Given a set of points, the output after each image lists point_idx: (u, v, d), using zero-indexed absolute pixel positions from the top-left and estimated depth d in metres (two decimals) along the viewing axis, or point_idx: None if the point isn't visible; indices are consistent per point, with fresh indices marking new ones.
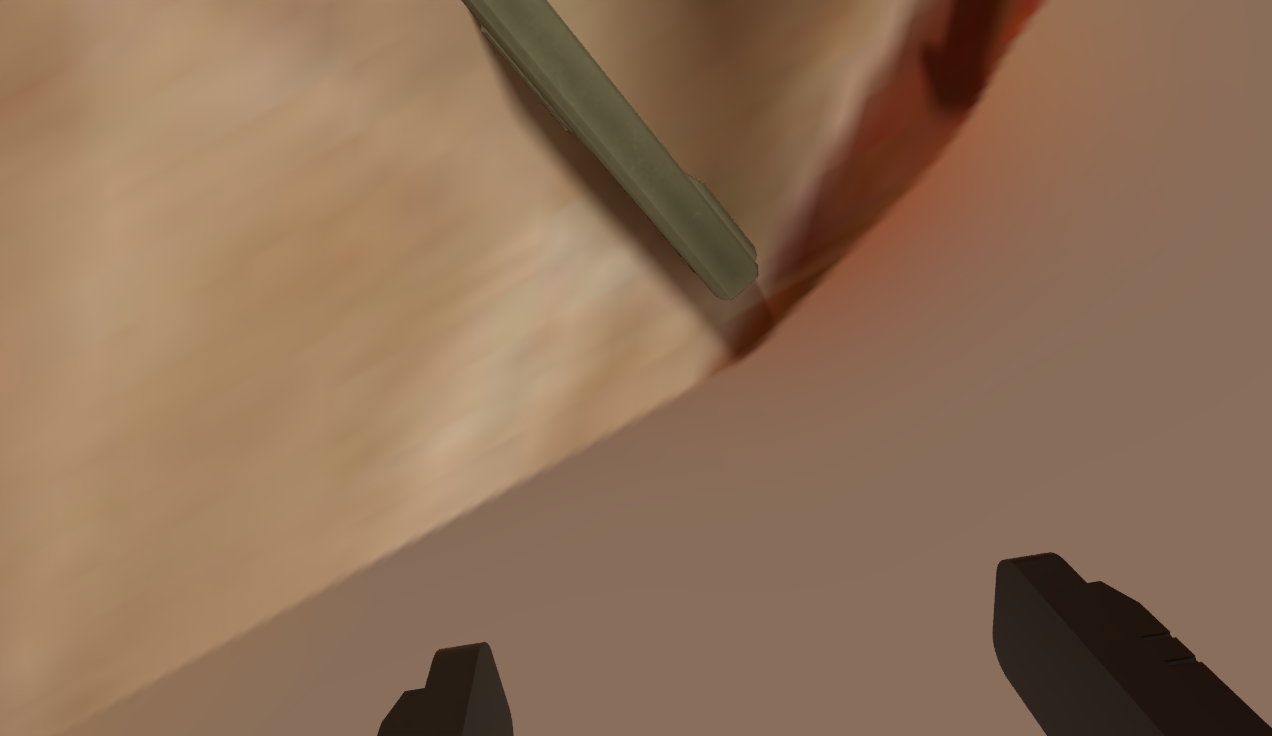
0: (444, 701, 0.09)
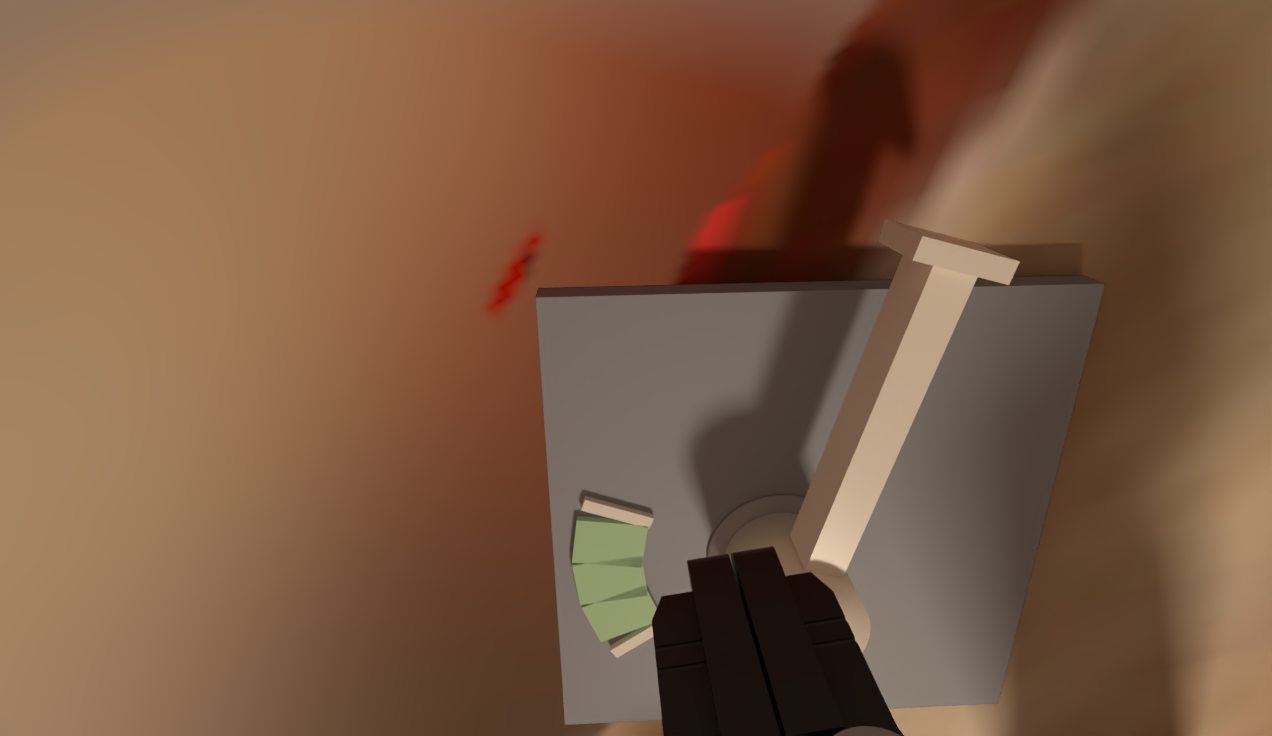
0: (717, 597, 0.10)
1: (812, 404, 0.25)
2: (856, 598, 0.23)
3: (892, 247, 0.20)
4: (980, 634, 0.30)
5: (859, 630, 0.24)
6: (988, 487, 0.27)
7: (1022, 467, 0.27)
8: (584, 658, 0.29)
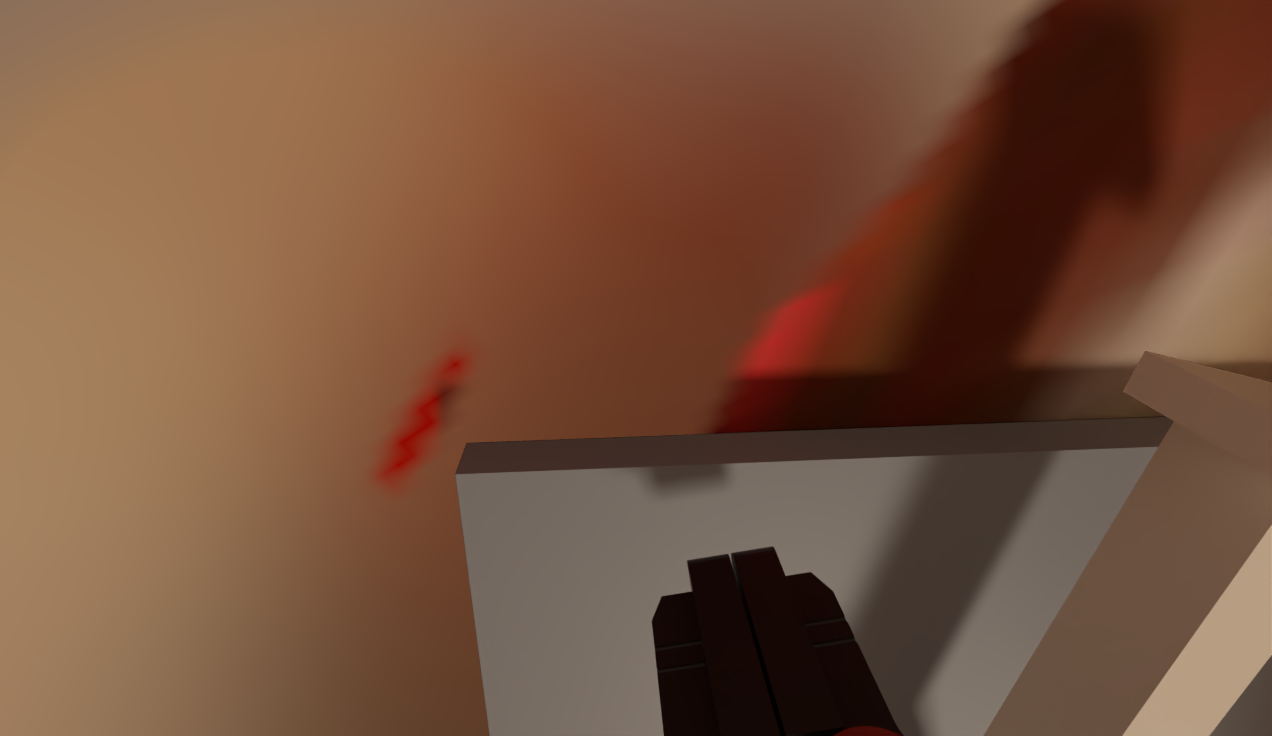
0: (717, 597, 0.10)
1: (943, 630, 0.15)
2: None
3: (1181, 421, 0.10)
4: None
5: None
6: None
7: None
8: None
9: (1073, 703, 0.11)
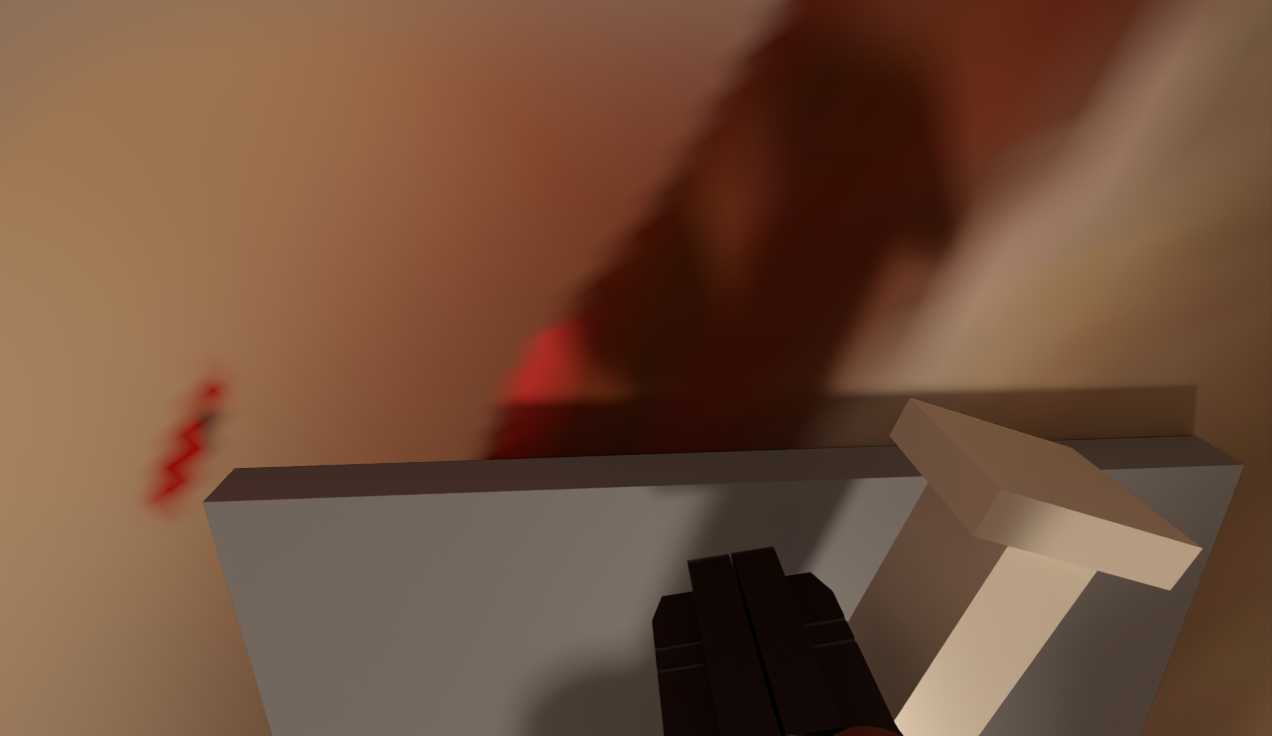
0: (717, 597, 0.10)
1: None
2: None
3: (922, 470, 0.10)
4: None
5: None
6: None
7: None
8: None
9: None
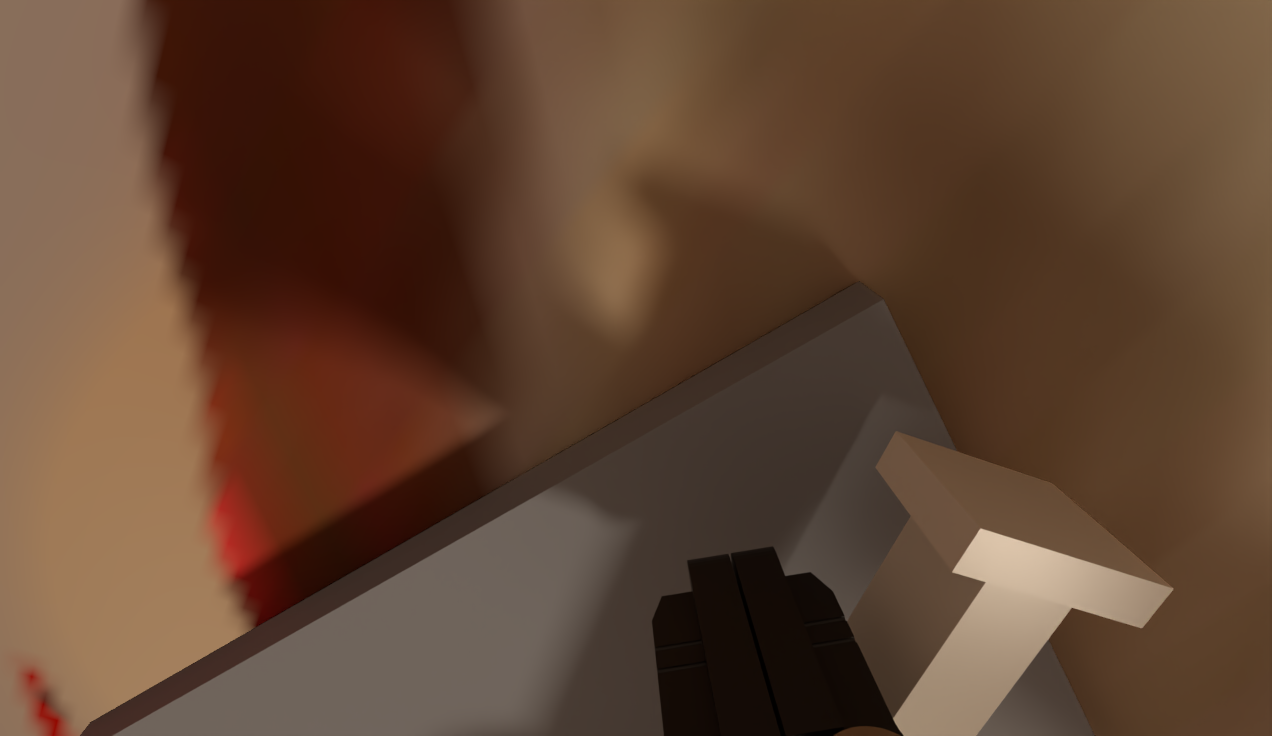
0: (717, 598, 0.10)
1: (543, 699, 0.15)
2: None
3: (906, 504, 0.10)
4: None
5: None
6: None
7: None
8: None
9: None
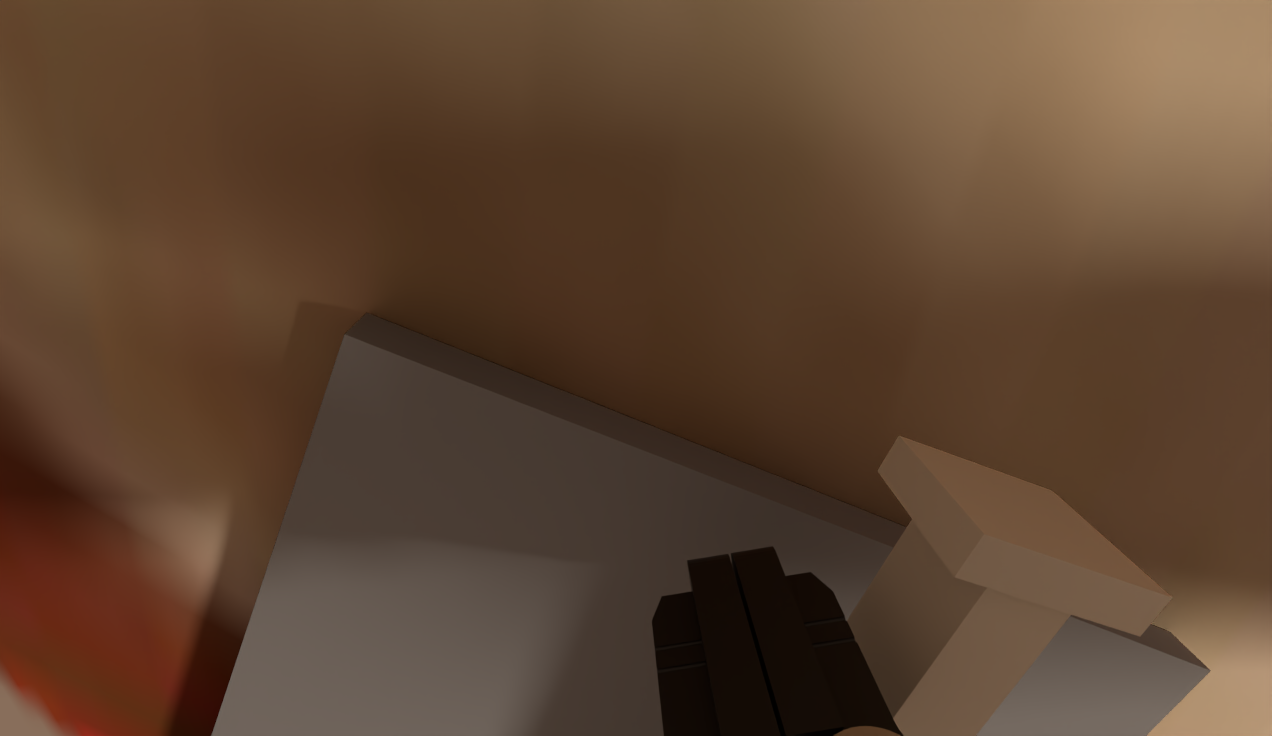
0: (717, 597, 0.10)
1: None
2: None
3: (908, 508, 0.10)
4: None
5: None
6: None
7: (693, 541, 0.14)
8: None
9: None
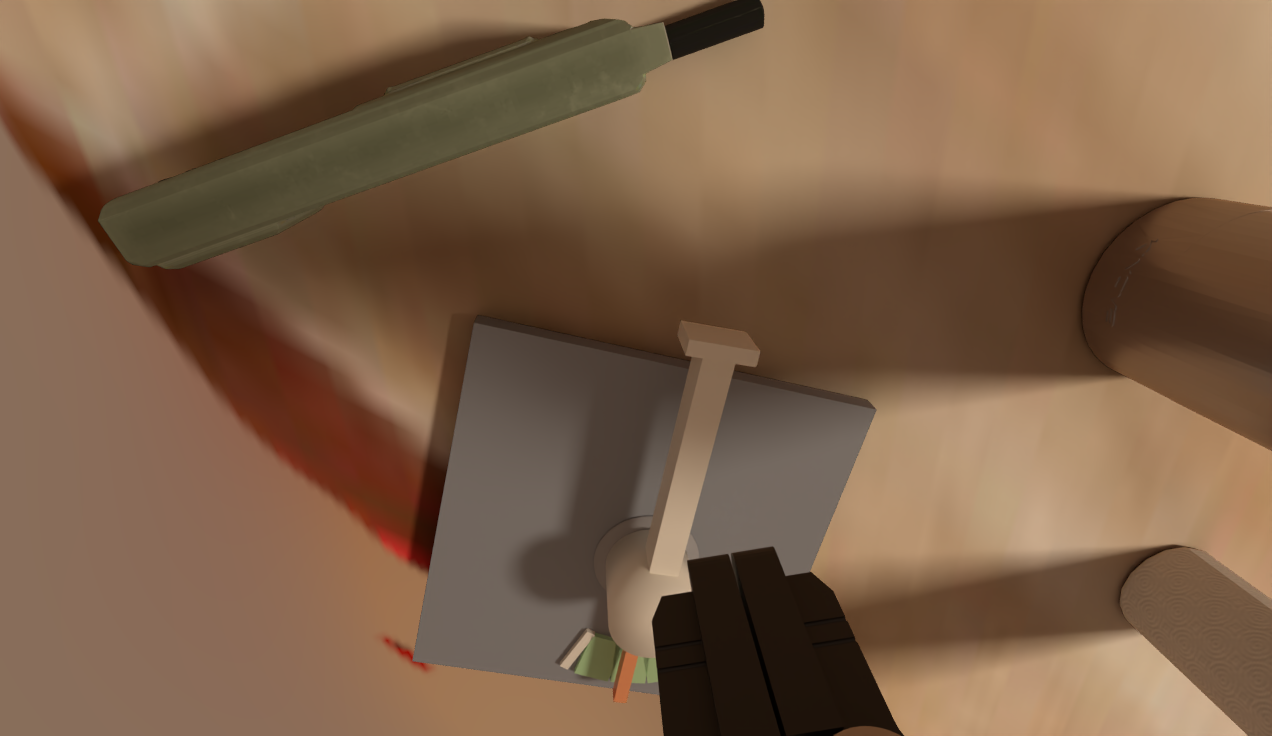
0: (717, 597, 0.10)
1: (526, 524, 0.35)
2: (686, 591, 0.32)
3: (680, 342, 0.29)
4: (788, 421, 0.34)
5: None
6: (635, 410, 0.33)
7: (624, 384, 0.33)
8: None
9: (674, 452, 0.30)
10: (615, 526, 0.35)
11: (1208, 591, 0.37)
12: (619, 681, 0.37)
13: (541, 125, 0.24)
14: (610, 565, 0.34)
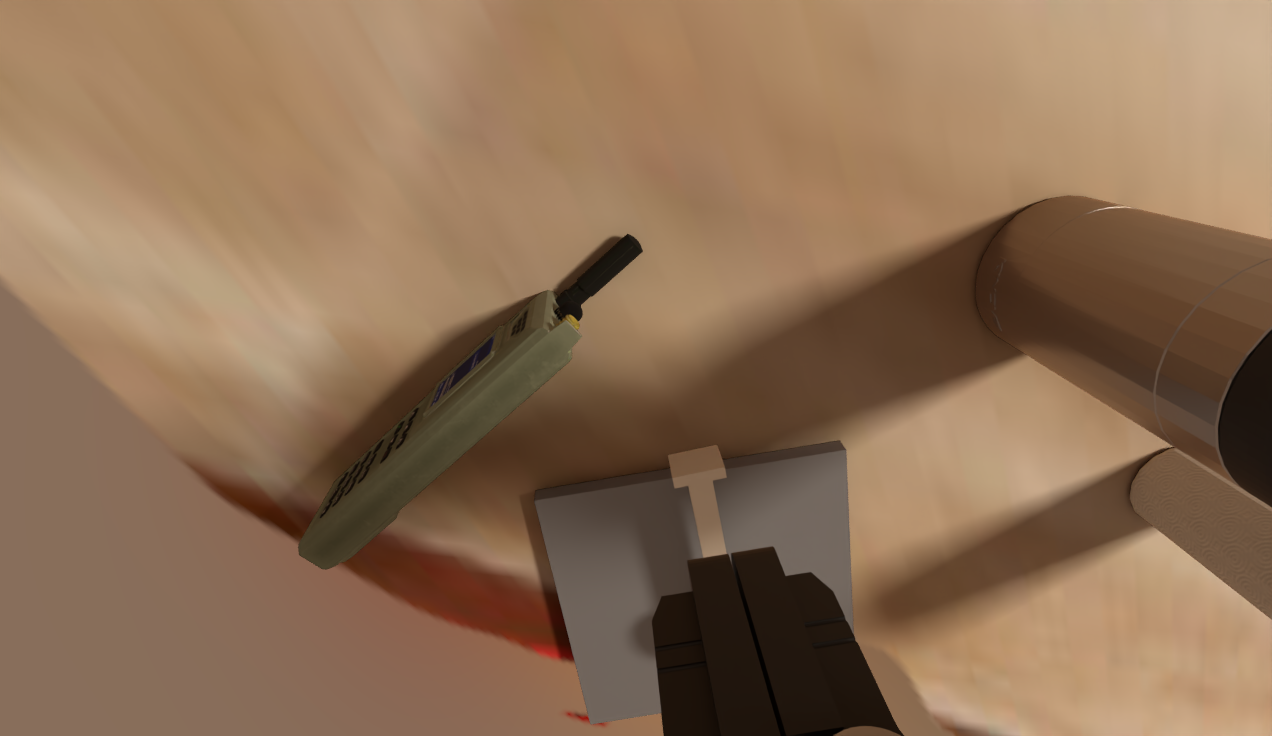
0: (717, 597, 0.10)
1: (627, 612, 0.47)
2: None
3: None
4: (782, 481, 0.44)
5: None
6: (668, 514, 0.44)
7: (652, 501, 0.44)
8: None
9: None
10: None
11: (1189, 488, 0.43)
12: None
13: (520, 403, 0.35)
14: None
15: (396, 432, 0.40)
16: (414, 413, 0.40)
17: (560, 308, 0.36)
